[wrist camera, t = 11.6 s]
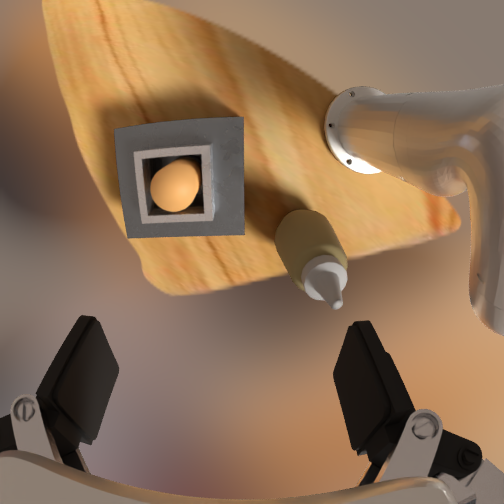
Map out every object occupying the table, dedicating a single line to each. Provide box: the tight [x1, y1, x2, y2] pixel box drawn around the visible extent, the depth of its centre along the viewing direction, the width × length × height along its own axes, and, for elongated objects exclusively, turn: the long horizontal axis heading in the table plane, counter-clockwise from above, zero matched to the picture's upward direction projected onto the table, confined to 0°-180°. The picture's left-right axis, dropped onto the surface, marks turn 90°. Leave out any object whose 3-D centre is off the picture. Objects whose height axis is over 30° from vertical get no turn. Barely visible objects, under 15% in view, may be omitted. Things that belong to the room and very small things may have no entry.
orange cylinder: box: [150, 155, 203, 212], centre depth 28 cm, size 4×4×9 cm
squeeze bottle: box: [274, 209, 348, 309], centre depth 32 cm, size 8×8×18 cm
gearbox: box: [114, 117, 245, 238], centre depth 30 cm, size 14×13×10 cm
